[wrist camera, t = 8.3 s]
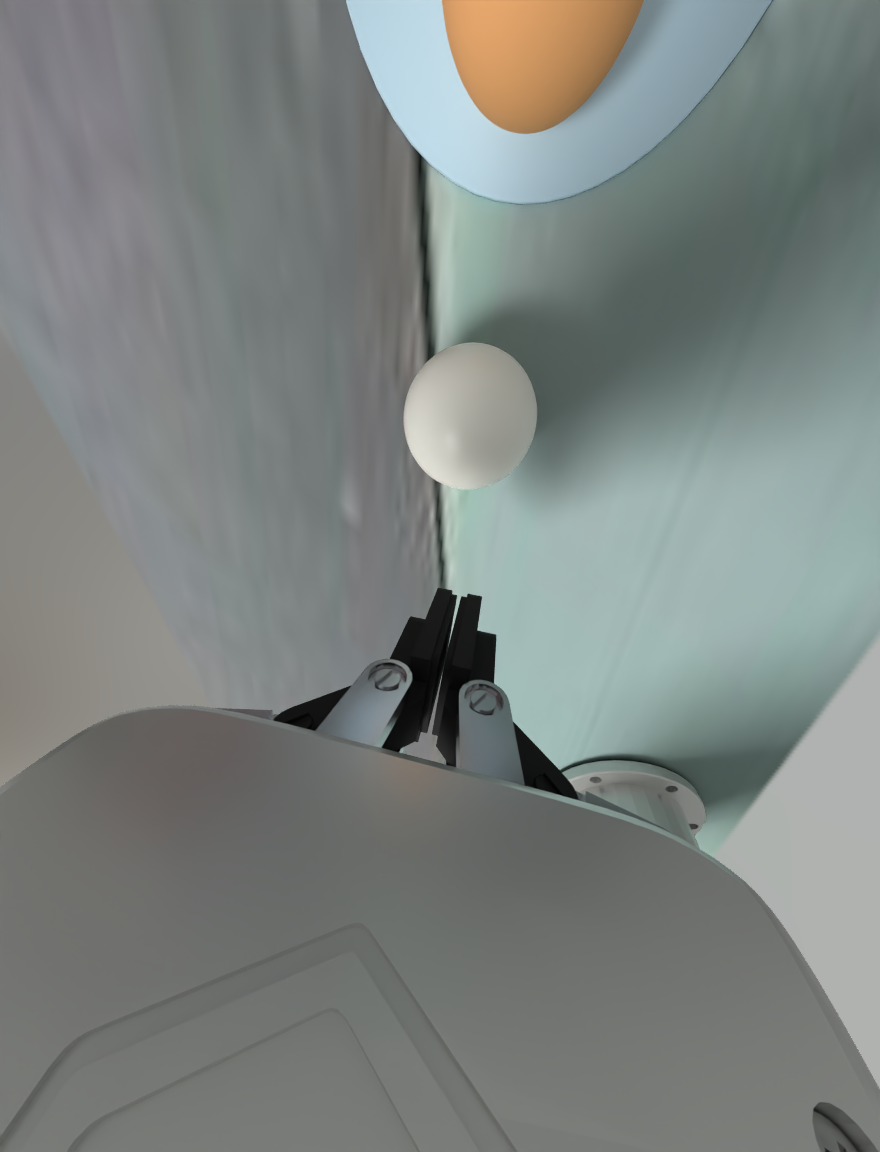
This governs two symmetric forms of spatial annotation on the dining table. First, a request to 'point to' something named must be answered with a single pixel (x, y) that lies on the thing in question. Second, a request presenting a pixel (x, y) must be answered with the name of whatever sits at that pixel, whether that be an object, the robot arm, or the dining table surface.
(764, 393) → the dining table surface
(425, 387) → the white egg
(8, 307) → the dining table surface
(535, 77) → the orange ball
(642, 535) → the dining table surface
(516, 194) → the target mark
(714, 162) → the dining table surface
